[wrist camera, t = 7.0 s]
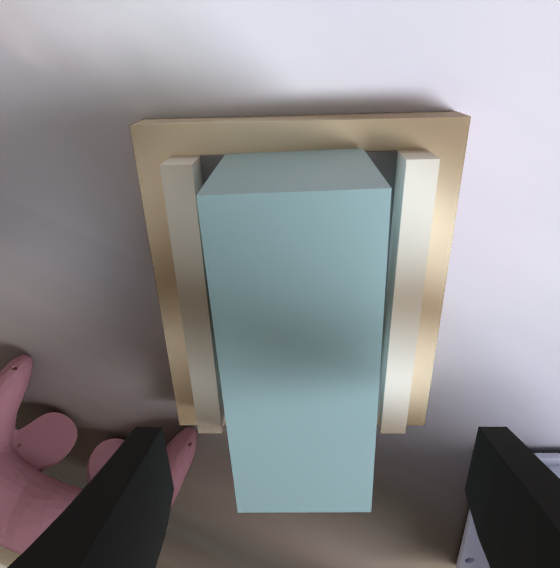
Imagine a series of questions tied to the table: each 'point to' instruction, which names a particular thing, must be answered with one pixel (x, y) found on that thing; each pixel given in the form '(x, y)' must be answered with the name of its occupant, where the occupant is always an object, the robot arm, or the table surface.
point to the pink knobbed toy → (51, 461)
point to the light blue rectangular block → (298, 322)
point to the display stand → (401, 243)
